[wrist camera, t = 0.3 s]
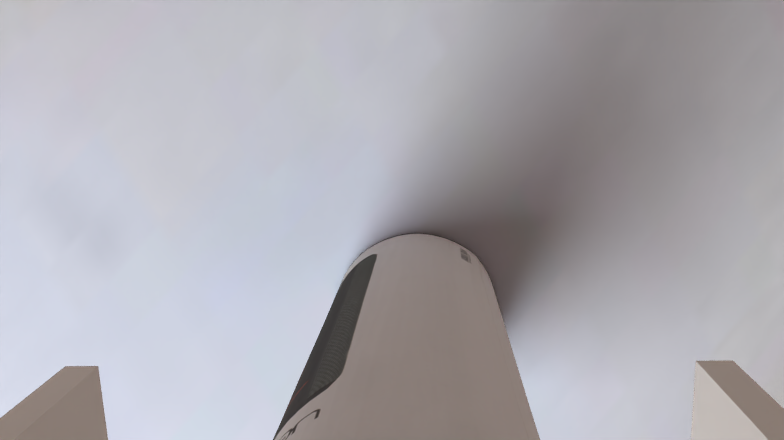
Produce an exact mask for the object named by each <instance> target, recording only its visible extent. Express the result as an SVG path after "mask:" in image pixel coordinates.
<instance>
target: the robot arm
mask: <svg viewBox="0 0 784 440" xmlns="http://www.w3.org/2000/svg"><path fill="white" fill-rule="evenodd" d="M0 440H108V437H107V429H106V422H105V414H104V407H103V399H102V392H101V385H100V377H99V370H98V366H65V367H64V368H63V369H61V370H60V371H59V372H58V373H56V374H55V375H54V376H53V377H51V378H50V379H49V380H48V381H46V382H45V383H44V384H43V385H41V386H40V387H39V388H38V389H36V390H35V391H34V392H33V393H31V394H30V395H29V396H28V397H26V398H25V399H24V400H23V401H21V402H20V403H19V404H18V405H16V406H15V407H14V408H12V409H11V410H10V411H9V412H7V413H6V414H5V415H4V416H2V417H1V418H0ZM691 440H784V409H783V408H782V407H781V406H780V405H779V404H778V403H777V402H776V401H775V400H774V399H773V398H772V397H771V396H770V395H769V394H767V393H766V392H765V391H764V390H763V389H762V388H761V387H760V386H759V385H758V384H757V383H756V382H755V381H754V380H753V379H752V378H751V377H750V376H749V375H747V374H746V373H745V372H744V371H743V370H742V369H741V368H740V367H739V366H738V365H737V364H736V363H735V362H734V361H696V366H695V382H694V398H693V414H692V430H691Z"/></svg>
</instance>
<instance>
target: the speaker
mask: <svg viewBox="0 0 784 440" xmlns="http://www.w3.org/2000/svg"><path fill="white" fill-rule="evenodd" d="M273 440H540V438H539V435H538V432H537V429H536V425H535V422H534V419H533V416H532V413H531V410H530V407H529V403H528V400H527V397H526V393H525V390H524V387H523V384H522V380H521V377H520V374H519V371H518V367H517V364H516V361H515V358H514V355H513V351H512V348H511V345H510V341H509V338H508V335H507V331H506V328H505V325H504V321H503V318H502V315H501V312H500V309H499V305H498V302H497V299H496V296H495V292H494V289H493V286H492V283H491V280H490V277H489V275H488V273H487V271H486V270H485V268H484V266H483V265H482V264H481V262H480V261H479V260H478V258H477V257H476V256H475V255H474V254H473V253H472V252H470V251H469V250H468V249H466V248H464V247H463V246H461V245H459V244H457V243H455V242H453V241H451V240H448V239H445V238H442V237H438V236H434V235H428V234H407V235H401V236H396V237H392V238H389V239H386V240H384V241H382V242H380V243H378V244H376V245H374V246H372V247H370V248H369V249H367V250H366V251H365V252H363V253H362V254H361V255H360V256H359V257H358V258H357V259H356V260H355V261H354V262H353V264H352V265H351V266H350V267H349V269H348V271H347V272H346V274H345V276H344V278H343V280H342V283H341V285H340V287H339V290H338V292H337V294H336V297H335V299H334V301H333V304H332V306H331V308H330V311H329V313H328V315H327V318H326V320H325V322H324V325H323V327H322V329H321V331H320V334H319V336H318V338H317V341H316V343H315V345H314V347H313V350H312V352H311V354H310V356H309V359H308V361H307V363H306V365H305V368H304V370H303V372H302V374H301V377H300V379H299V381H298V384H297V386H296V388H295V391H294V393H293V395H292V398H291V400H290V402H289V405H288V407H287V409H286V412H285V414H284V416H283V419H282V421H281V423H280V425H279V428H278V430H277V432H276V434H275V436H274V439H273Z"/></svg>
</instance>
